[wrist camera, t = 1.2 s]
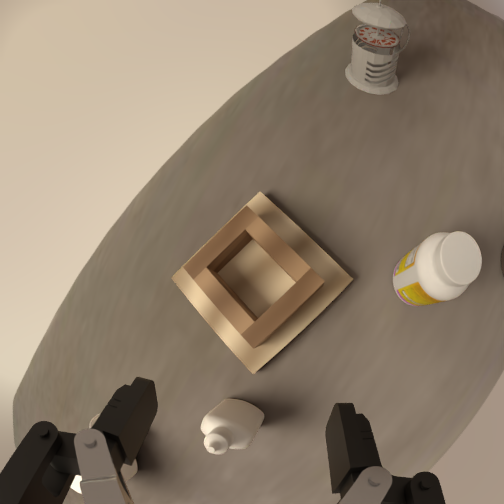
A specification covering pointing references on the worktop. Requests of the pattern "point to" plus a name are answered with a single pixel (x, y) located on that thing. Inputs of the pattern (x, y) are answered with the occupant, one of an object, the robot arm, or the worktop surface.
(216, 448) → the eye dropper bottle
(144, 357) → the worktop surface
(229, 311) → the birch holder
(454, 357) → the worktop surface
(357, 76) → the french press
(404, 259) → the supplement bottle
